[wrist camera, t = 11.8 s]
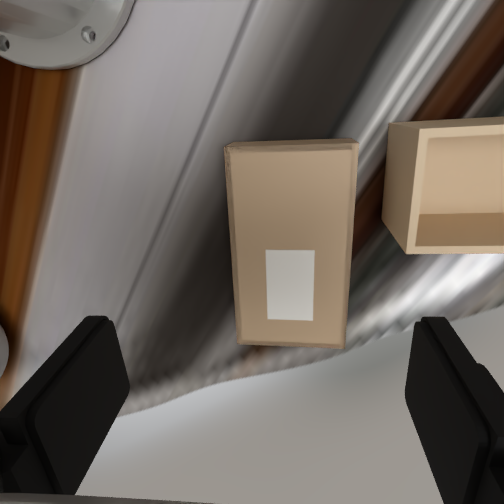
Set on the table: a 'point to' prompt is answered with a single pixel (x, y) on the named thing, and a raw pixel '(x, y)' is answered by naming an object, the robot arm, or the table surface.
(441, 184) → the box
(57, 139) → the table surface
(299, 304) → the lid
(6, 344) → the grey egg-shaped speaker
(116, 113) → the table surface
